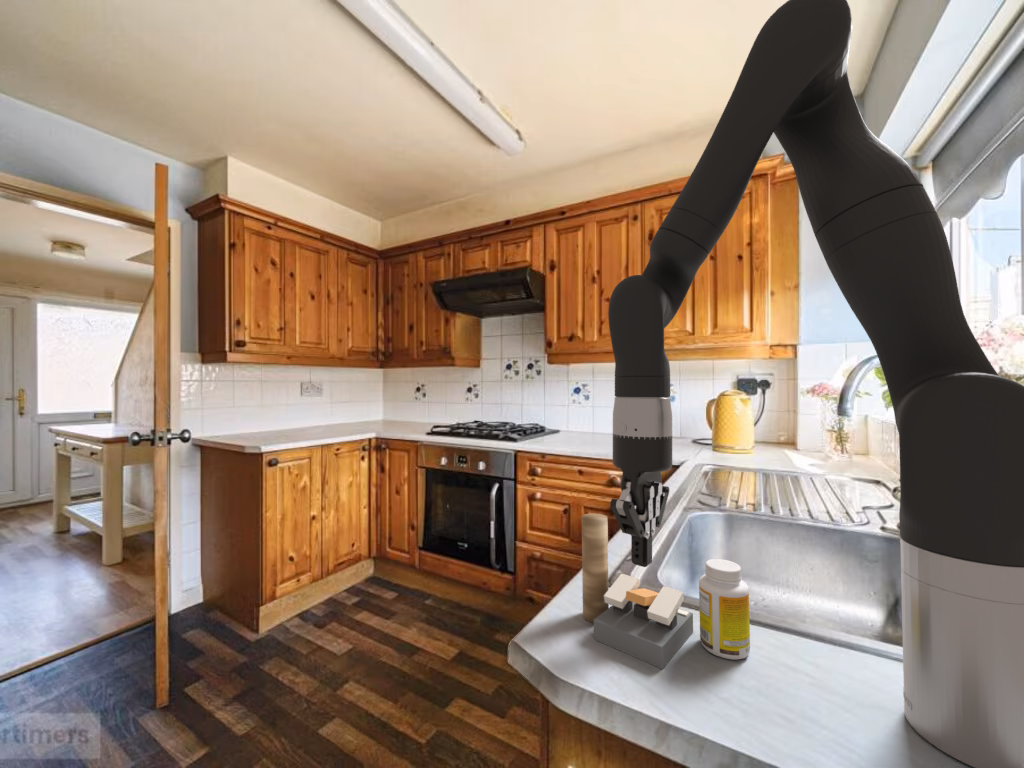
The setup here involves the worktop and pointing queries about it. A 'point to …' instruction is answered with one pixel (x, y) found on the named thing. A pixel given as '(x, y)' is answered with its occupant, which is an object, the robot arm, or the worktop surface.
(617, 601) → the paddle near post
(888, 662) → the worktop surface
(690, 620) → the board
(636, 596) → the paddle middle
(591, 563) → the pine post
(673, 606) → the paddle near bottle
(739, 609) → the supplement bottle
